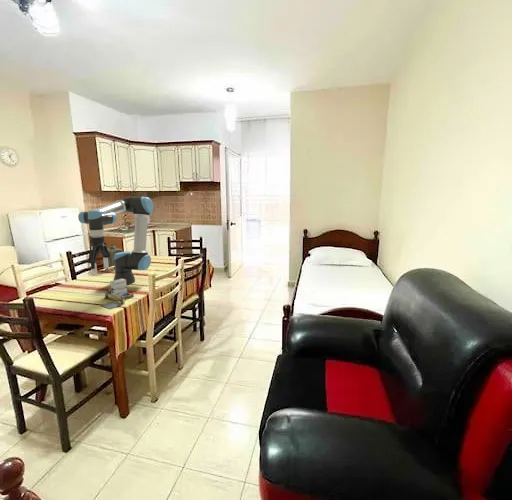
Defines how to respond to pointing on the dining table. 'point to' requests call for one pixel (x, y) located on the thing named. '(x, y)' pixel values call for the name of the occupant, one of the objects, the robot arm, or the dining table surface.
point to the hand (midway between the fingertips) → (100, 270)
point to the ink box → (119, 287)
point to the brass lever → (114, 297)
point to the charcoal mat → (111, 305)
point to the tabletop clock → (112, 254)
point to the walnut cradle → (124, 297)
